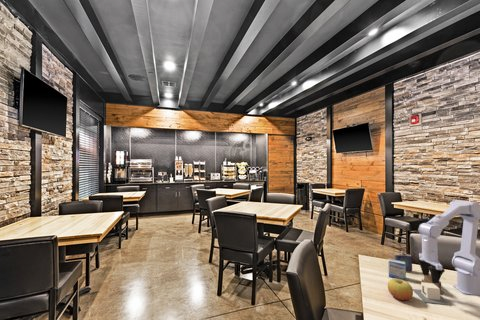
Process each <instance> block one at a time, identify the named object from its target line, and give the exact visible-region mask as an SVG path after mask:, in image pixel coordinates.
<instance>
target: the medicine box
mask: <svg viewBox="0 0 480 320" xmlns="http://www.w3.org/2000/svg"><path fill="white" fill-rule="evenodd" d="M387 260H388V262H387V264H388V267H387V268H388V269H387V270H388V274H387V275H388V277H389V278H392V279H401V280H404V281H406V280H407V279H406V278H407V277H406V276H407V275H406V273H407V271H406V264H405V262H403V261H398V260H394V259H391V258H388V259H387Z"/></svg>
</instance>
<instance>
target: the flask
mask: <svg viewBox="0 0 480 320" xmlns="http://www.w3.org/2000/svg"><path fill="white" fill-rule="evenodd" d="M393 260H398V261H403V262H405V264H406V272H409V273H410V272H413V255H411V254H408V253H404V251H403V250H401V251H400V253H393Z"/></svg>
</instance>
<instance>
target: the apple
mask: <svg viewBox="0 0 480 320" xmlns="http://www.w3.org/2000/svg"><path fill="white" fill-rule="evenodd" d="M387 289H388V290H387V291H388V292H389V294H390V295H391V296H392V297H393V298H395V299H396V300H400V301H409V300H411V299H412V298H413V296H414V295H413V294H414V291H413V289H414V288H413V287H412V285H411V284H410V283H409V282H407V281H406V280H402V279H397V278H392V279H390V280H389V281H388V282H387Z"/></svg>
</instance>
